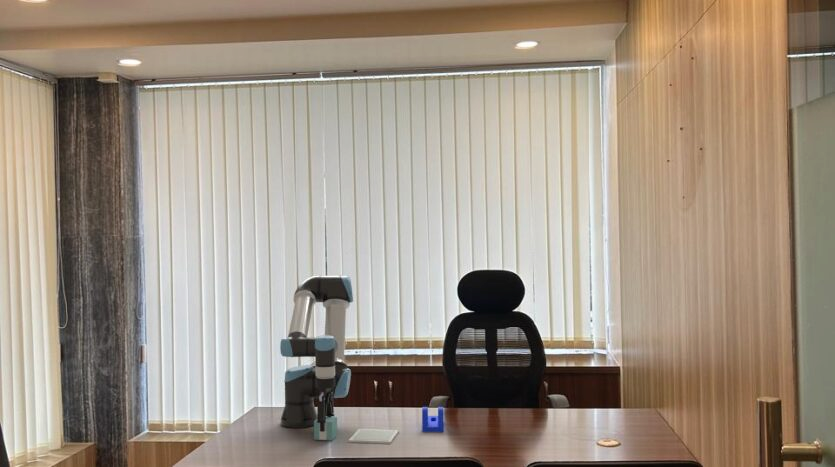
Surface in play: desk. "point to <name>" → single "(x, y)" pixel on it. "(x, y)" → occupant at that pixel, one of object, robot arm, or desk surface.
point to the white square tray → (374, 436)
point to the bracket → (432, 421)
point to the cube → (330, 428)
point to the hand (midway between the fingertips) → (325, 436)
